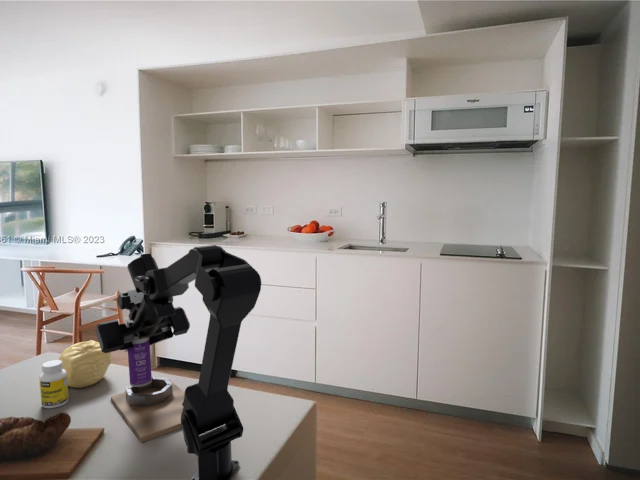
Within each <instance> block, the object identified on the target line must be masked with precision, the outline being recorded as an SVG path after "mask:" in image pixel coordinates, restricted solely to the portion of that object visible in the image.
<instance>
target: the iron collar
mask: <svg viewBox="0 0 640 480" xmlns="http://www.w3.org/2000/svg"><path fill="white" fill-rule="evenodd" d="M169 379H170V378H169V377H159V376H158V377H157V376H152V381H151V383H150V384H148V385H145V386H141V387H133V386H131V385H130V384H129V385H128V386H126V387H125V391H124V392H126V400H127V402H128V404H129V406H136V407H149V406H153V405H156V404H160V403H163V402H165V401H166V400H167V399H168V398H169V397H170V396H171V395H172V394H173V389H172V383H171V382H170V381H169ZM152 388H154V389H162V390H161V391H158V392H154V393H150V394H146V395H145V394H137V393H138V392H140V391H144V390H148V389H152Z"/></svg>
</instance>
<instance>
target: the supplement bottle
mask: <svg viewBox="0 0 640 480" xmlns="http://www.w3.org/2000/svg"><path fill="white" fill-rule="evenodd" d="M62 368H63V364H62V361H61V360H59V359H54V360H48V361H45V362H43V363H42V365H41V371H42V373H41V374H40V376H39V389H40V400H41V401H40V402H41V406H42V408H45V409H54V408H58V407H62V406H64V405H65V404H66V403H68V401H69V399H70V398H69V397H70V396H69V388H68V387H69V386H68V384H67V373H66V370H64V369H62Z"/></svg>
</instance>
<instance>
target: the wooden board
mask: <svg viewBox="0 0 640 480" xmlns="http://www.w3.org/2000/svg"><path fill="white" fill-rule="evenodd" d="M168 379H169V381H170V382H171V383H172V389H173V394H172V395H171V396H170V397H169V398H168V399H167V400H166V401H165V402H163V403H160V404H156V405H153V406H149V407H136V406H129V404H128V402H127V400H126V392H125V391H124V392H120V393H117V394H113V395H111V396H110V401H111V402H112V404H113V405H114V407H115V408H116V409H117V411H118V412H119V414H120V415H121V416H122V417H123V419H124V421H125V422H126V423H127V425H128V426H129V427H130V430H132V432H133V433H134V434H135V436H136V437H137V438H138V440H139V442H140V443H143V442H146V441H149V440H152V439H155V438H157V437H161V436H163V435H165V434H168V433H170V432H173V431H176V430H179V429H182V425H181V413H182V412H183V407H184V406H182V403H183V401H184V393H185V391H183V390H182V388H180V387H179V386H178V385H177V384H175V383H174V382H173V380H171V378H168ZM161 390H162V389H154V388H152V389H148V390H144V391H140V392H138V393H137V394H145V395H146V394H150V393H154V392H158V391H161Z"/></svg>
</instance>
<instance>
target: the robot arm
mask: <svg viewBox="0 0 640 480" xmlns="http://www.w3.org/2000/svg"><path fill="white" fill-rule="evenodd" d="M127 271H128V273H129V275H130V278H131V281H132V283H133V286H134V289H132V290H131V289H130V290H127V291H126V292H121V293H119V294H118V296H117V301H116V303H117V306H118V307H119V310H121V311H122V310H127V311H129V313H128V319H130V321H133V323H129V327H128V328H127V323H126V322H125V323H119V321H118V320H117V319H113V320H107V321H103V322H99V323H98V324H97V325H96V327H95V335H96V336H97V340H98V341H97V342H99V344H100V347H101V350H102V352H104V353H109V352H111V353H112V352H116V351H124V352H125V353H128V351H129V350H130V349H132V348H133V347H134V346H133V344H132V339H133V338H136V337H139V339H143V338H147V337H149V340H150V347H151V346H153V345H155V344H158V343H160V342H164V341H166V340H168V339H172V338H173V337H174V336H179V335H180V336H181V335H184V334H187V333H188V331H189V329H190V327H191V324H190V321H189V318H188V316H187V314H186V311H185V309H184V308H182V307H181V306H177V307H175V306H174V304H173V302H174V297H177V296H182V295H183V294H184V293H186V292H187V290H188V289H189V288H190V286H189V284H190V283H191V282H193V281H194V287H195V289H197V290H198V292H199V293H200V295H201V296H202V302H203V304H204V305H205V307H206V309H207V311H208V312H209V322H208V325H207V331H206V338H205V344H204V350H203V355H202V359H201V367H200V372H199V377H198V378H199V379H198V382H197V383H195V384H191V385H189V386H186V388H185V390H184V401H183V403H182V406H184V407H183V412H182V413H181V425H182V428H181V429H182V434H183V440H184V442H185V446H186V447H187V448H186V452H187V454H189V455H190V454H191V455H194V454H195V455H196V456H197V467H198V468H197V470H196V471H195V473H194V474H193V475H192V476H191V478H190V480H232V477H233V476H234V474H235V472H236V470H237V469H238V468H239V465H240V462H239V460H232V457H233V456H232V441H235V440H236V439H239V438H243V433H244V426H243V424H242V421H241V419H240V417H239V414H238V412H237V410H236V408H235V404H234V403H235V401H234V398H233V397H232V395H231V394H230V391H229V390H228V389H229V382H230V378H231V374H232V369H233V365H234V359H235V354H236V350H237V345H238V341H239V340H238V339H239V334H240V330H241V327H242V326H241V325H242V322H243V320H244V319H245V318H246V317H247V316H248V315H249V314H250V313H251V312H252V311H253V310H254V308H255V307H256V304H257V301H258V298H259V296H260V293H261V290H262V277H261V275H260V274H259V272H258V271H257V270H256V269H255V268H254V267H253V266H252V265H251V264H250V263H249V262H248V261H247V260H245V259H244V258H242V257H239V256H237V255H234V254H232V253H229V252H227V251H226V250H225V249H224V248H223V247H221V246H220V245H216V244H212V245H210V244H209V245H203V246H195V247H193V248H191V249H189V250H188V253H186V254H185V255H183V256H182V257H180V258H179V259H177V260H176V261H174V262H172V263H171V264H170V265H168V266H166V267H162V268H159V267H158V263H157V262H156V259H155V257H153V256H152V254H151V253H150V252H149V253H141V254H140V256H139V257H137V258H134V259H133V260H132V261H130V262H129V263H128V264H127ZM172 330H173V331H172Z"/></svg>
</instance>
